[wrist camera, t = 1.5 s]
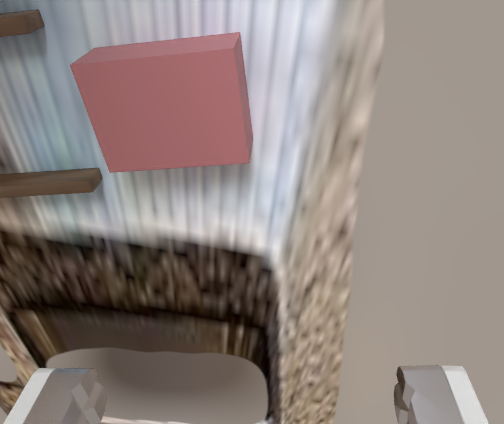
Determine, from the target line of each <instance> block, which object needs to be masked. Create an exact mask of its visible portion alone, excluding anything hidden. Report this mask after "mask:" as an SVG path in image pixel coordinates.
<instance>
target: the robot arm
mask: <svg viewBox="0 0 504 424" xmlns="http://www.w3.org/2000/svg"><path fill="white" fill-rule="evenodd" d="M97 377H98V375H97V374H96V372H95V370H94V369H78V368H71V369H70V368H39V369H38V370H37V371H35V372H34V373H33V374H32V376H31V378H30V380H29V381H28V383H27V385H26V386H25V388H24V390H23V391H22V393H21V395H20V396H19V398H18V400H17V401H16V403H15V405H14V407H13V408H12V410H11V412H10V413H9V415H8V417H7V418H6V420H5V422H4V424H99V423H100V422H101V420H102V417H103V414H104V411H105V405H106V394H105V390H104V388H103V386H102V385H101V384H99V383H97V382H96V379H97ZM397 379H398V383H397V384H396V385H395V389H394V405H395V411H396V416H397V420H398V424H489V423H488V421H487V419H486V416H485V414H484V412H483V410H482V408H481V405H480V403H479V401H478V398H477V396H476V394H475V391H474V389H473V387H472V384H471V382H470V380H469V378H468V375H467V373H466V371H465V369H464V368H463V367H462V366H459V365H458V366H439V365H429V366H428V365H427V366H399V367H398V369H397Z"/></svg>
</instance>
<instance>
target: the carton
mask: <svg viewBox="0 0 504 424" xmlns="http://www.w3.org/2000/svg"><path fill="white" fill-rule="evenodd" d="M70 66H71V69H72V72H73V74H74V77H75V80H76V83H77V85H78V88H79V91H80V93H81V96H82V99H83V102H84V104H85V107H86V110H87V112H88V115H89V118H90V121H91V123H92V126H93V129H94V131H95V134H96V137H97V139H98V142H99V145H100V148H101V150H102V153H103V156H104V158H105V161H106V164H107V167H108V169H109V172H110V173H111V172H125V171H140V170H154V169H169V168H183V167H198V166H213V165H227V164H242V163H249V161H250V155H251V148H252V141H253V133H252V125H251V117H250V109H249V101H248V93H247V85H246V77H245V69H244V61H243V53H242V45H241V37H240V32H237V33H228V34H219V35H210V36H200V37H191V38H182V39H173V40H164V41H155V42H145V43H136V44H127V45H118V46H109V47H99V48H94V49H93V50H91V51H90V52H88V53H87V54H85V55H84V56H83V57H81V58H80V59H78V60H77V61H75V62H74V63H73V64H71V65H70Z"/></svg>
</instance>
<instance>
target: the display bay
mask: <svg viewBox="0 0 504 424" xmlns="http://www.w3.org/2000/svg"><path fill="white" fill-rule="evenodd" d="M42 27H44V23H43V21H42V18H41V15H40V13H39V10H30V11H22V12H14V13H5V14H0V37H2V36H11V35H20V34H29V33H31V32H33V31H35V30H37V29H39V28H42ZM102 179H103V178H102V175H101V173H100V170H99V168H90V169H75V170H60V171H45V172H30V173H15V174H0V198H3V197H20V196H36V195H53V194H70V193H87V192H94V190H95V189H96V187H97V186H98V184H99V183H100V181H101V180H102Z"/></svg>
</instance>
